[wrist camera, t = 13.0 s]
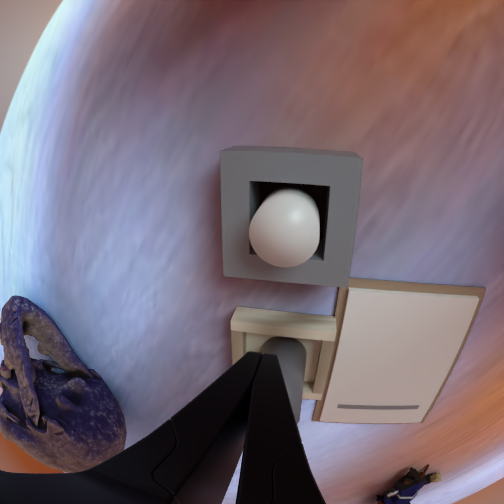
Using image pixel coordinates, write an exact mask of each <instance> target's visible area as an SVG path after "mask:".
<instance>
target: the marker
mask: <svg viewBox="0 0 504 504" xmlns="http://www.w3.org/2000/svg"><path fill="white" fill-rule="evenodd" d="M261 353H262V354H264V353H270V354H276V355H277V356H278V358H279V362H280V366H281V369H282V373H283V376H284V380H285V383H286V387H287V391H288V394H289V398H290V401H291V405H292V409H293V412H294V416H295V419H296V423H298V422H299V419H300V411H301V403H302V395H303V386H304V377H305V367H306V357H307V352H306V348H305V347H304V345H303V344H302V343H301V342H300V341H298V340H297V339H295V338H292V337H282V336H275V337H272V338H270V339H268V340H267V341H266V342H265V343H264V344H263V346H262V348H261Z"/></svg>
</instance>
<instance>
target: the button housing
mask: <svg viewBox="0 0 504 504" xmlns="http://www.w3.org/2000/svg"><path fill="white" fill-rule="evenodd" d="M362 163H363V158H361V157H360V156H359V155H358V154H356V153H353V152H342V151H331V150H318V149H303V148H285V147H257V146H234V147H231V148H228V149H225V150H221V151H220V175H221V220H222V252H223V276H227V277H237V278H246V279H256V280H266V281H277V282H287V283H298V284H309V285H320V286H332V287H344V288H348V282H349V275H350V269H351V262H352V255H353V248H354V241H355V233H356V225H357V216H358V207H359V198H360V187H361V176H362ZM260 181H263V182H281V183H297V184H311V185H324V186H328V187H327V201H326V214H325V226H324V237H323V240H319V243H318V247H317V249H316V251H315V252H314V254H313V255H312V256H311V257H310V258H309V259H308V260H307V261H305V262H304V263H302V264H300V265H297V266H294V267H278V266H274V265H271V264H269V263H267V262H265V261H264V260H263V259H261V258H260V257H259V256H258V255H257V253H256V252H255V251H254V249H253V247H252V245H251V242H250V238H249V227H250V223H251V220H252V218H253V217H254V215H255V213H256V212H257V210H258V209H259V204H260Z"/></svg>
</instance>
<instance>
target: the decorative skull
mask: <svg viewBox="0 0 504 504" xmlns="http://www.w3.org/2000/svg"><path fill="white" fill-rule="evenodd" d="M24 335H30V336H33V337H35V338H36V339H37V340H38V341H39V342H40V343H39V345H38V348H37V349H38V351H39V352H40V353H42V354H45V355H50V356H51V357H52V358H53V359H54V360H55V361H56V362H57V363H56V362H53V361H49V360H43V359H40V360H37V359H32V358H30V355H29V349H28V348H27V347H26V343H25V339H24ZM0 340H1V345H3V346H4V354H5V355H4V360H2V362H1V367H0V386H1V387H2V388H3V392H2V394H1V396H0V431H1V433H2V435H3V436H4V437H5V439H7V440H10V441H13V442H14V443H15V444H16V445H17V446H19V447H20V448H21V449H22V450H24V451H25V452H26V453H28V454H29V455H30V456H32V457H33V458H34V459H36V460H37V461H39V462H41V463H43V464H44V465H46V466H48V467H51V468H54V469H57V470H61V471H64V472H69V473H75V472H80V471H84V470H87V469H90V468H92V467H94V466H96V465H98V464H100V463H102V462H104V461H106V460H107V459H109V458H111V457H113V456H115V455H116V454H118V453H120V452H122V451H123V450H124V446H125V441H126V434H127V432H126V425H125V419H124V415H123V413H122V411H121V409H120V407H119V405H118V403H117V401H116V399H115V398H114V396H113V395H112V393H111V392H110V390H109V389H108V387H107V386H106V384H105V382H104V381H103V379H102V378H101V376H100V375H99V374H98V373H97V372H96V371H95V370H94V369H87V368H86V367H85V366H84V365H83V363H82V362H81V361H80V360H79V358H78V357H77V356H76V354H75V353H74V352H73V350H72V349H71V347H70V346H69V344H68V342H67V341H66V339H65V337H64V336H63V335H62V333H61V332H60V330H59V329H58V327H57V326H56V324H55V323H54V321H53V320H52V319H51V318H50V317H49V316H48V315H47V314H46V313H45V312H44V311H43V310H42V309H41V308H39V307H38V306H37V305H35V304H34V303H33V302H31V301H30V300H28V299H27V298H24V297H21V296H16V295H15V296H12V297H11V298H10V299H9V300H8V302H7V303H6V304H5V305H4V307H3V308H2V313H1V323H0ZM51 367H57V368H60V369H63V370H65V371H67V372H64V373H56V372H54V371H52V370H51Z"/></svg>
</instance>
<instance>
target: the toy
mask: <svg viewBox="0 0 504 504" xmlns="http://www.w3.org/2000/svg"><path fill="white" fill-rule="evenodd" d="M428 467H429V465H427V467H426V468H425V469H424V471H423V472H421V473H420V474H419V473H418V472H417V470H416V469H413V468H410V471H409V472H408V473H407V475H405V476H404V477H403V478H402V479H400V480H399V481H398V482H397V483H395V490H394V488H391V489H389V490H387V491H385V492H384V493H385V494H384V495H383V496H382V498H381V497H380V496H378V495H377V501H378V502H379V503H378V504H410V501H411V500H412V499H413V498H414V497H415V496H416V495H417V493H418V491H419V489H420V488H422V487H423V486H424V485H426V484H429V483H431V482H438V481H441V476H440V473H436V474H429V475H427V476H425V472H426V471H427V469H428ZM424 476H425V477H424Z"/></svg>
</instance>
